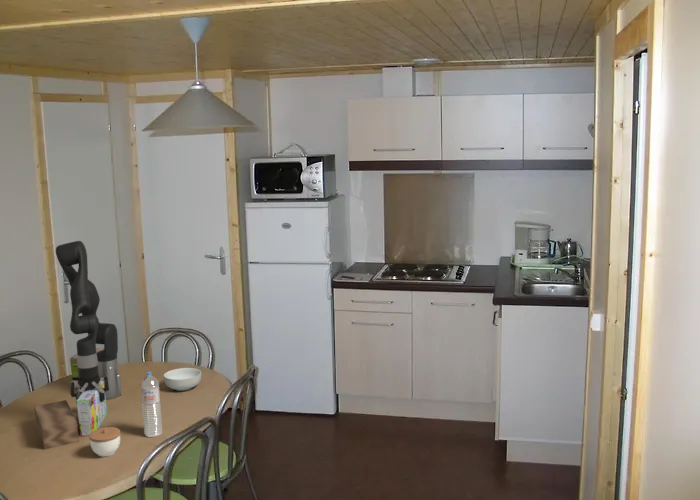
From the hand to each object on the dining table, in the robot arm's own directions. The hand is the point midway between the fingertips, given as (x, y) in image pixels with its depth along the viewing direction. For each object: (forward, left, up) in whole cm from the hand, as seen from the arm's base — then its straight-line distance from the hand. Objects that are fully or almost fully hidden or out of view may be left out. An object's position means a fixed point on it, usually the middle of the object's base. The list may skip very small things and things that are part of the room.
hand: (90, 403), depth 277 cm
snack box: (-1, 0, -10) cm, 10 cm away
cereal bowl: (-44, -21, -9) cm, 49 cm away
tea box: (-9, -53, -9) cm, 55 cm away
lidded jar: (0, +29, -9) cm, 30 cm away
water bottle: (-19, +22, -9) cm, 30 cm away
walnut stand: (+13, 0, -9) cm, 16 cm away
